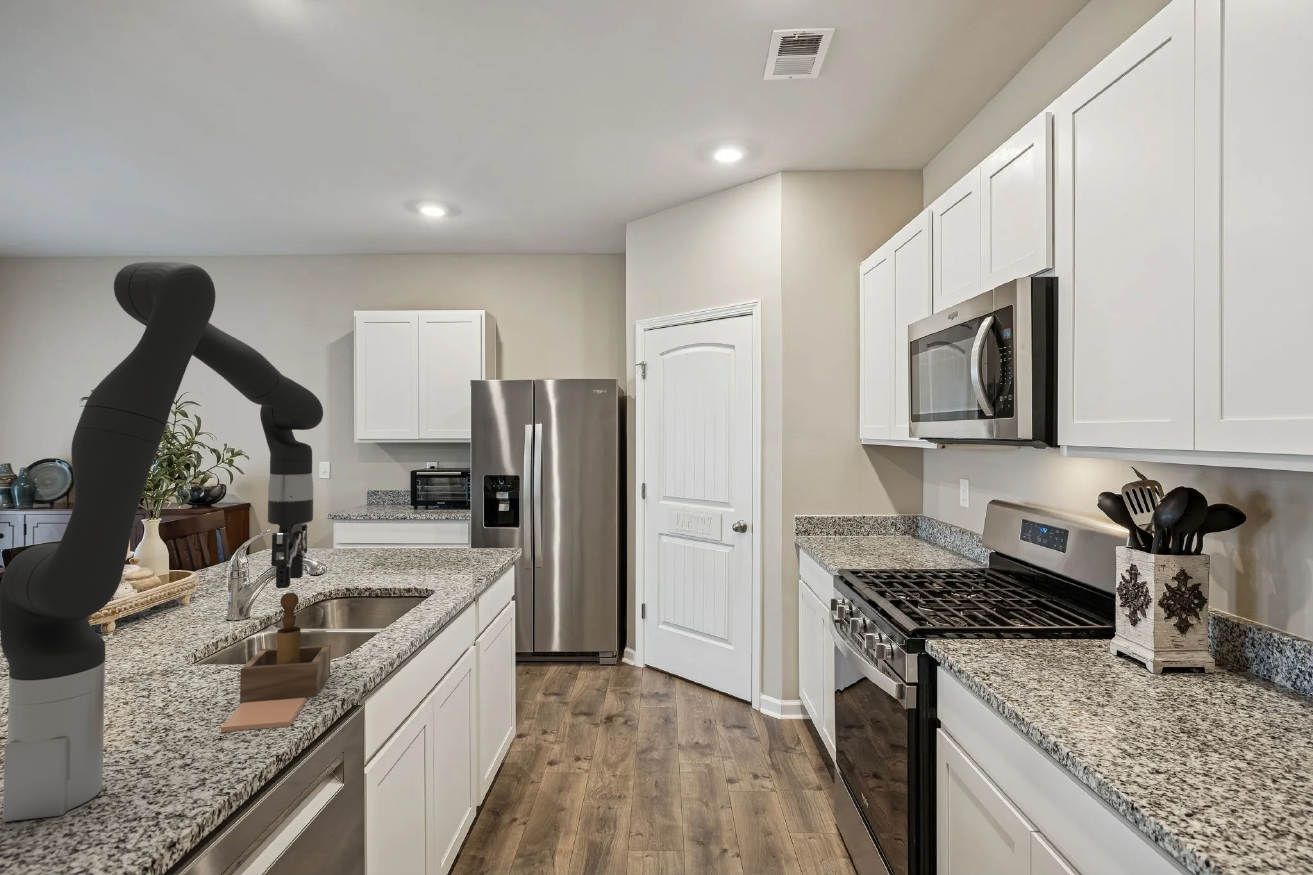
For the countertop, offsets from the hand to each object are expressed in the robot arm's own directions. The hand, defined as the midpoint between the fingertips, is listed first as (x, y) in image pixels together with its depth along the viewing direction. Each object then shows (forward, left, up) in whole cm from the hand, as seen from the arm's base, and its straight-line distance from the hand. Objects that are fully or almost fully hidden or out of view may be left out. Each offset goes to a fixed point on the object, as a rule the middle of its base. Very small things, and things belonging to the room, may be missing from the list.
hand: (289, 582), depth 123 cm
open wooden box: (0, 0, -20) cm, 20 cm away
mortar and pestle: (0, 0, -20) cm, 20 cm away
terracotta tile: (-13, 0, -20) cm, 24 cm away
